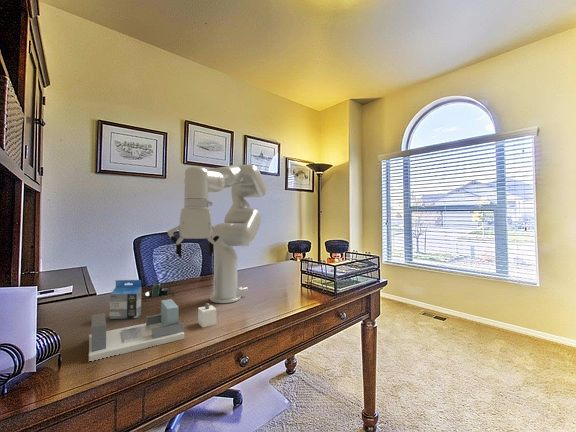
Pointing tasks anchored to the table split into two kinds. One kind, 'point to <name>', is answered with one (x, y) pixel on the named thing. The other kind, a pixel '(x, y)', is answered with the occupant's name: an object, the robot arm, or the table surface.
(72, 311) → the table surface
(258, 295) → the table surface
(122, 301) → the label tape box
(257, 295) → the table surface
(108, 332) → the base
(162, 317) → the block
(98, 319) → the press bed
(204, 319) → the block
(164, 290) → the dark green piece
